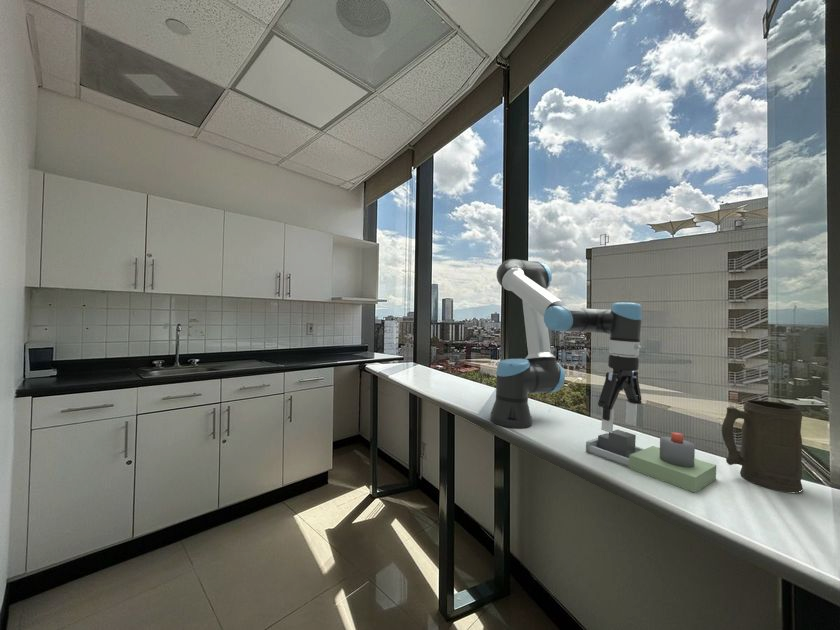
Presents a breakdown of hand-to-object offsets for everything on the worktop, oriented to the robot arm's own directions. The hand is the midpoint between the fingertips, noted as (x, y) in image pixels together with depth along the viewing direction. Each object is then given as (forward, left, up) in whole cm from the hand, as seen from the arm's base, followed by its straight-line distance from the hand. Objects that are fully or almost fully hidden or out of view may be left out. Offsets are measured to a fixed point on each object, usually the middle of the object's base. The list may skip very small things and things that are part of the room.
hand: (619, 427), depth 95 cm
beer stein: (+26, +16, -8) cm, 32 cm away
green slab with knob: (+7, 0, -8) cm, 11 cm away
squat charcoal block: (-1, 0, -7) cm, 7 cm away
